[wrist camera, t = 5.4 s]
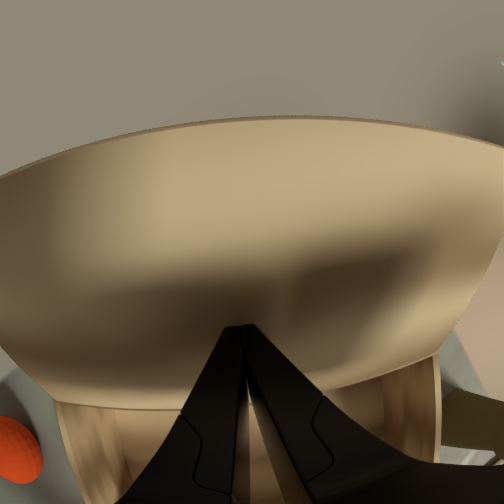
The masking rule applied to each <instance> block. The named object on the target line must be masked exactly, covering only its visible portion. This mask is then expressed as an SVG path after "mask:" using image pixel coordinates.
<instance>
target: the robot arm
mask: <svg viewBox="0 0 504 504" xmlns="http://www.w3.org/2000/svg"><path fill="white" fill-rule="evenodd" d="M239 328H240V329H239ZM247 385H248V386H247ZM248 391H249V394H248ZM249 396H250V400H251V403H252V406H253V410H254V413H255V416H256V419H257V422H258V425H259V429H260V432H261V435H262V438H263V441H264V444H265V447H266V450H267V453H268V456H269V459H270V462H271V464H272V467H273V470H274V473H275V476H276V479H277V482H278V484H279V487H280V490H281V493H282V495H283V498H284V501H285V503H286V504H504V464H503V465H494V466H477V465H456V464H444V463H434V462H427V461H423V460H419V459H416V458H413V457H411V456H409V455H406V454H405V453H403V452H401V451H399V450H398V449H396V448H395V447H393V446H391V445H390V444H388V443H387V442H385V441H384V440H382V439H381V438H379V437H378V436H376V435H374V434H373V433H371V432H370V431H368V430H367V429H366V428H364V427H363V426H361V425H360V424H359V423H357V422H356V421H354V420H353V419H352V418H350V417H349V416H348V415H347V414H345V413H344V412H343V411H342V410H341V409H340V408H338V407H337V406H336V405H335V404H334V403H333V402H332V401H331V400H330V399H329V398H328V397H327V396H326V395H323V393H322V392H321V391H320V390H319V389H318V388H317V387H316V386H315V385H314V384H313V383H312V382H311V381H310V380H309V379H308V378H307V377H306V376H305V375H304V374H303V373H302V372H301V371H300V370H299V369H298V368H297V367H296V366H295V365H294V364H293V363H292V362H291V361H290V360H289V359H288V358H287V357H286V356H285V355H284V354H283V353H282V352H281V351H280V350H279V349H278V348H277V347H276V346H275V345H274V344H273V343H272V342H271V341H270V340H269V339H268V338H267V337H266V336H265V335H264V334H263V333H262V331H261V330H260V329H259V328H258V327H257V326H256V325H255V324H245V325H240V327H239V326H228V327H224V329H223V331H222V333H221V335H220V336H219V338H218V340H217V342H216V344H215V346H214V348H213V350H212V352H211V354H210V356H209V358H208V360H207V362H206V363H205V365H204V367H203V369H202V371H201V373H200V375H199V377H198V379H197V381H196V383H195V385H194V386H193V388H192V390H191V392H190V394H189V396H188V398H187V400H186V402H185V404H184V406H183V407H182V409H181V411H180V414H179V415H178V417H177V418H176V420H175V422H174V424H173V426H172V428H171V429H170V431H169V433H168V435H167V436H166V438H165V440H164V441H163V443H162V444H161V446H160V447H159V449H158V450H157V452H156V453H155V454H154V456H153V457H152V459H151V460H150V461H149V463H148V464H147V465H146V467H145V468H144V469H143V471H142V472H141V473H140V475H139V476H138V477H137V478H136V480H135V481H134V482H133V484H132V485H131V486H130V487H129V489H128V490H127V491H126V492H125V494H124V495H123V496H122V497H121V498H120V499H119V500H118V501H117V502H115V503H114V504H251V500H250V436H249Z"/></svg>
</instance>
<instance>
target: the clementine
mask: <svg viewBox="0 0 504 504" xmlns="http://www.w3.org/2000/svg"><path fill="white" fill-rule="evenodd" d="M42 467H43V457H42V452H41V449H40V446H39V444H38V442H37V440H36V439H35V437H34V436H33V434H32V433H31V432H30V431H29V430H28V429H27V428H26V427H25V426H24V425H22V424H21V423H20V422H19V421H17V420H15V419H13V418H10V417H8V416H0V476H2V477H3V478H5V479H7V480H9V481H11V482H14V483H20V484H24V483H29V482H32V481H34V480H35V479H36V478H37V477H38V476H39V475H40V473H41V470H42Z"/></svg>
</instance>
